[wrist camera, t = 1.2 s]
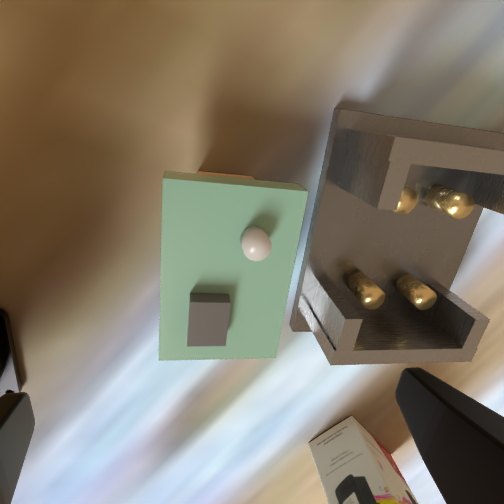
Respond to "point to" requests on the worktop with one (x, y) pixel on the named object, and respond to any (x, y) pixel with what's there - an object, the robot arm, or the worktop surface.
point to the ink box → (357, 467)
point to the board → (226, 265)
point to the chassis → (396, 239)
